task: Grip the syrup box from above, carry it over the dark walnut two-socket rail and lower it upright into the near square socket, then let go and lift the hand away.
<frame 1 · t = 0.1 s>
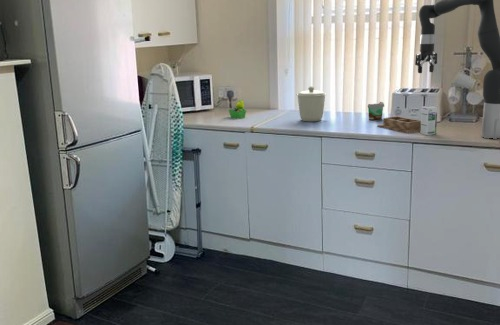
hand: (425, 72, 283), 29 cm above the worktop, tool pointing down, fingers open, 8 cm apart
walnut socket rail: (401, 128, 281), on the worktop
canister: (311, 120, 315), on the worktop
syrup box: (428, 134, 265), on the worktop
food container: (377, 119, 310), on the worktop
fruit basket: (238, 117, 336), on the worktop
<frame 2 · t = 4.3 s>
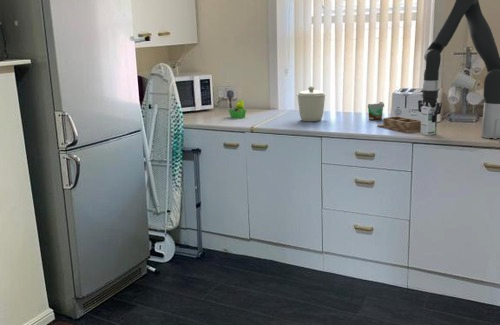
hand: (428, 121, 263), 7 cm above the worktop, tool pointing down, fingers closed on syrup box, 6 cm apart
syrup box: (428, 134, 265), on the worktop, touching gripper
everything else where it was.
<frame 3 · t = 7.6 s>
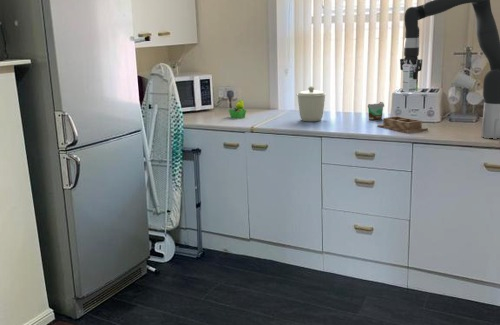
hand: (410, 78, 270), 28 cm above the worktop, tool pointing down, fingers closed on syrup box, 6 cm apart
syrup box: (409, 91, 272), point 21 cm above the worktop, touching gripper
everything else where it was.
when the fingers open (9 cm above the worktop, at t = 11.2 s): syrup box stays where it is, resting on walnut socket rail.
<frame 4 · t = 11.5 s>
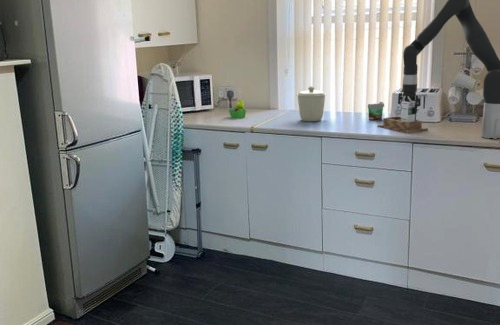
hand: (408, 113, 275), 9 cm above the worktop, tool pointing down, fingers open, 8 cm apart
syrup box: (407, 128, 277), point 1 cm above the worktop, touching walnut socket rail
everything else where it was.
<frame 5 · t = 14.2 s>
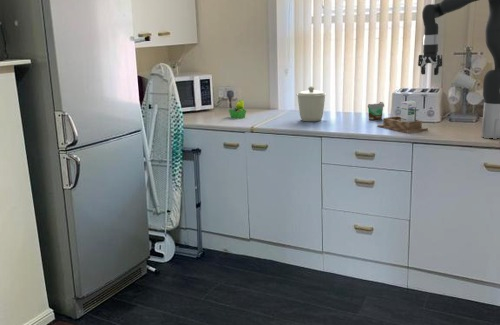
hand: (429, 74, 272), 29 cm above the worktop, tool pointing down, fingers open, 8 cm apart
nothing on the worktop moved.
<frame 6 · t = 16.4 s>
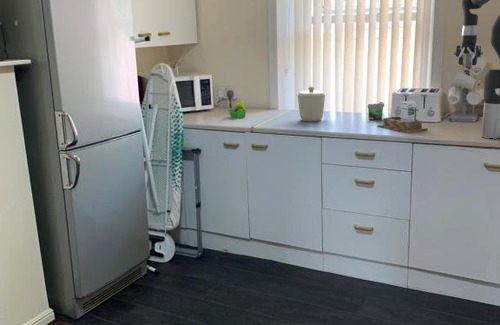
hand: (467, 65, 276), 33 cm above the worktop, tool pointing down, fingers open, 8 cm apart
nothing on the worktop moved.
at the end: syrup box 0.0 cm from the target spot on the walnut socket rail, point 0.8 cm above the walnut socket rail's base; syrup box tilted 0°; the gripper is holding nothing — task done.
